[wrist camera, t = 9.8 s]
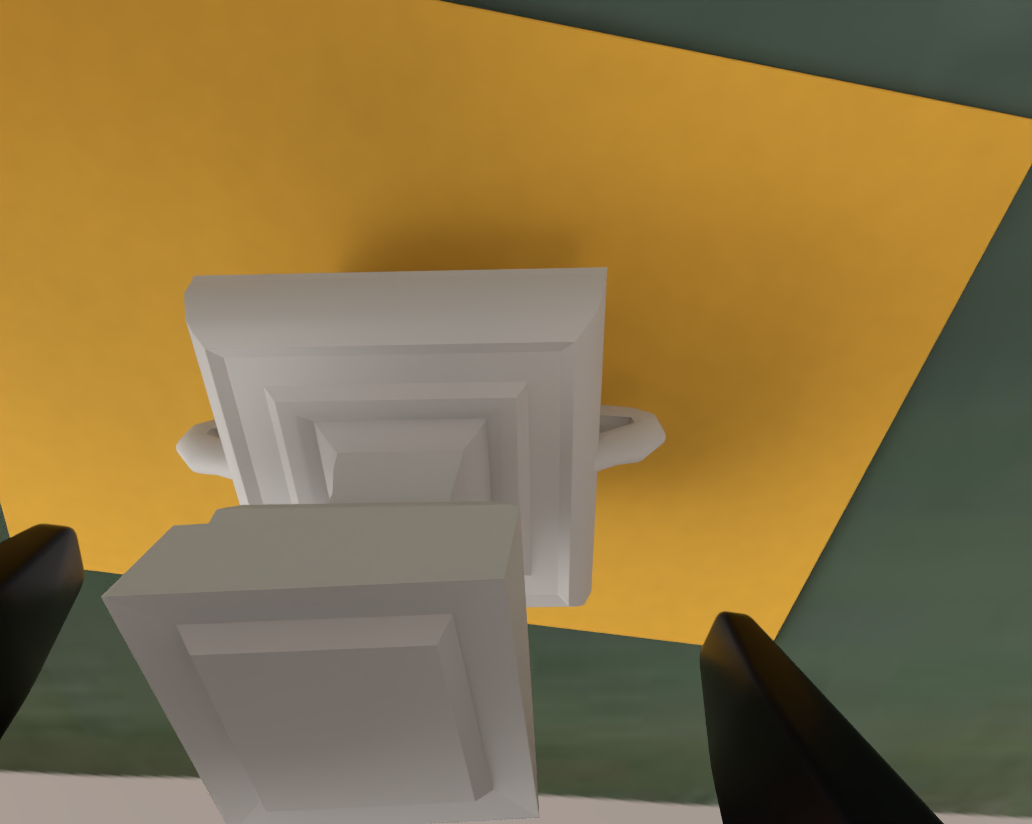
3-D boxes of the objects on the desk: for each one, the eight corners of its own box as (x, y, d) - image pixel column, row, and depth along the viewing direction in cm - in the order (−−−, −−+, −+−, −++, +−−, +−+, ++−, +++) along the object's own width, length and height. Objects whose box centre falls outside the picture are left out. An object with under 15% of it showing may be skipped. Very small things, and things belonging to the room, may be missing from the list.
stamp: (259, 506, 16) (58, 904, 9) (180, 232, 13) (-237, 527, 6) (636, 497, 16) (729, 895, 9) (656, 217, 13) (832, 501, 6)
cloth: (23, 553, 18) (15, 561, 17) (-156, -119, 11) (-174, -123, 10) (764, 644, 19) (767, 653, 19) (1043, 121, 12) (1054, 124, 12)
